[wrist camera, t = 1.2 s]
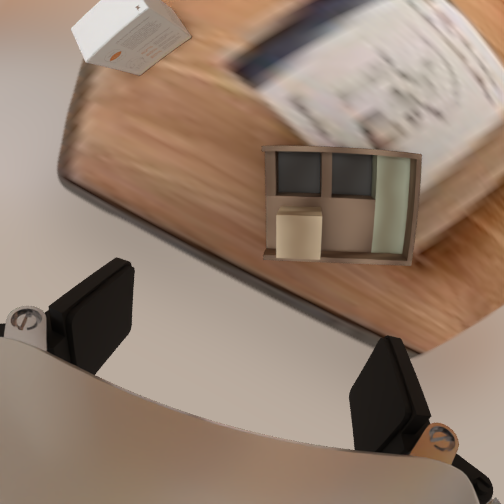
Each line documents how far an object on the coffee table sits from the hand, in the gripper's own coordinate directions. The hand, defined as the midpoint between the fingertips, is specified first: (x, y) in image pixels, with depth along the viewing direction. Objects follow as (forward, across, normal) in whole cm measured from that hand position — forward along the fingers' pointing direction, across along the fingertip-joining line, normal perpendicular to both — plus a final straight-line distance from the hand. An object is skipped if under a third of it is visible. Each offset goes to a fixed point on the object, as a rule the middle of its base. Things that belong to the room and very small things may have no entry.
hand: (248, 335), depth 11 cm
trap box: (+24, -6, -2) cm, 25 cm away
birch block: (+22, -2, +1) cm, 22 cm away
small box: (+25, +19, -16) cm, 35 cm away
